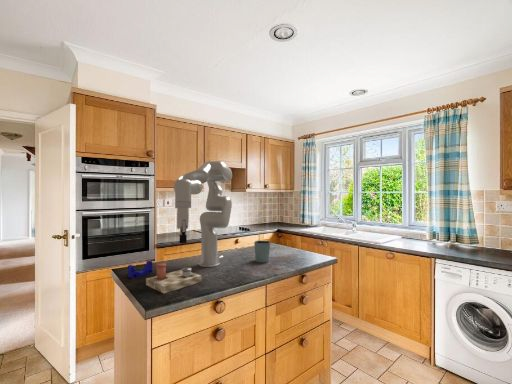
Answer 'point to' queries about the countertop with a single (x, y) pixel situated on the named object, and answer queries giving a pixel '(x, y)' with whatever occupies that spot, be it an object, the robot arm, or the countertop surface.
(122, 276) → the countertop surface
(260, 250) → the drinking glass
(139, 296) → the countertop surface
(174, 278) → the board
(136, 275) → the cable clip
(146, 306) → the countertop surface
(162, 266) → the red plug
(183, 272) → the grey plug
